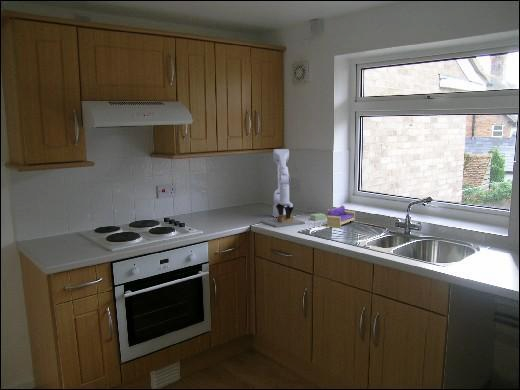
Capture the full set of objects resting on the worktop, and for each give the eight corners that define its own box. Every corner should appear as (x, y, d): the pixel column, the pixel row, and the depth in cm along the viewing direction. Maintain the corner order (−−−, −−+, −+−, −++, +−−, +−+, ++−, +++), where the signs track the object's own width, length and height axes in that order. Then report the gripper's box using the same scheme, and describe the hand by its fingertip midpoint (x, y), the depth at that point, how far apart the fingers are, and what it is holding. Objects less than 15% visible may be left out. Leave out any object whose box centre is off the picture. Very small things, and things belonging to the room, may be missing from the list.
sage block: (310, 219, 286) (310, 214, 285) (320, 218, 289) (320, 213, 289) (315, 221, 281) (315, 215, 280) (325, 220, 285) (325, 214, 284)
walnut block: (277, 221, 275) (277, 215, 275) (288, 219, 279) (288, 214, 279) (282, 222, 270) (282, 216, 270) (293, 221, 274) (293, 215, 274)
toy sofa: (339, 228, 259) (339, 211, 257) (326, 226, 264) (326, 209, 263) (355, 222, 275) (355, 206, 274) (342, 221, 281) (342, 204, 279)
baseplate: (260, 222, 278) (260, 220, 277) (287, 219, 288) (287, 217, 287) (276, 227, 262) (276, 225, 262) (304, 223, 272) (304, 221, 272)
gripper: (297, 195, 268) (297, 218, 270) (283, 193, 280) (283, 214, 282) (287, 196, 265) (287, 219, 266) (273, 194, 277) (273, 216, 279)
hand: (284, 217), depth 274 cm, fingers open, 7 cm apart
